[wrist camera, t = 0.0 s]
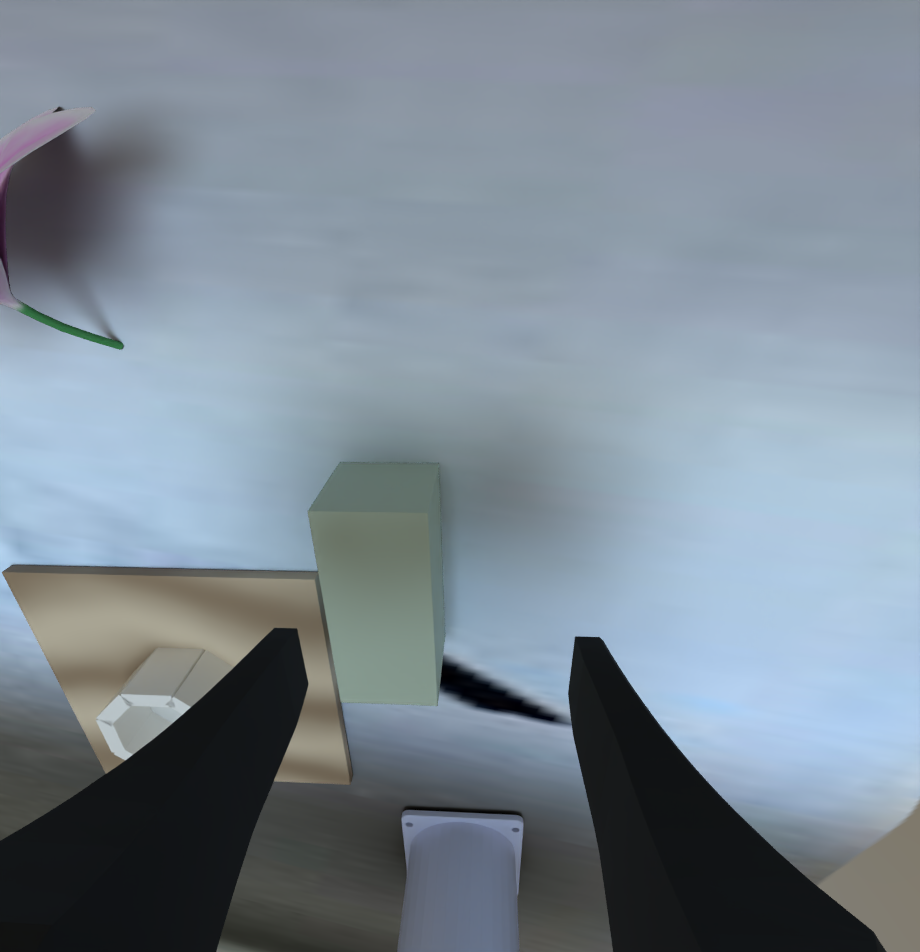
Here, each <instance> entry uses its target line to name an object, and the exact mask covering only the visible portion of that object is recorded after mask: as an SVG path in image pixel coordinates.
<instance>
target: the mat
mask: <svg viewBox="0 0 920 952" xmlns="http://www.w3.org/2000/svg"><path fill="white" fill-rule="evenodd" d="M2 573H3V575H4V577H5V579H6V581H7V583H8V585H9V587H10V589H11V591H12V593H13V595H14V597H15V599H16V601H17V602H18V604H19V606H20V608H21V610H22V612H23V614H24V616H25V618H26V620H27V622H28V624H29V626H30V628H31V630H32V631H33V633H34V635H35V637H36V639H37V641H38V643H39V645H40V647H41V649H42V651H43V653H44V655H45V657H46V659H47V661H48V662H49V664H50V666H51V668H52V670H53V672H54V674H55V676H56V678H57V680H58V682H59V684H60V686H61V688H62V690H63V691H64V693H65V695H66V697H67V699H68V701H69V703H70V705H71V707H72V709H73V711H74V713H75V715H76V717H77V719H78V720H79V722H80V724H81V726H82V728H83V730H84V732H85V734H86V736H87V738H88V740H89V742H90V744H91V746H92V748H93V749H94V751H95V753H96V755H97V757H98V759H99V761H100V763H101V765H102V767H103V769H104V771H105V773H106V774H107V773H108V772H109V771H111V770H112V769H114V768H115V767H117V766H118V765H120V764H121V763H122V762H124V761H125V760H124V759H122V758H120V757H118V756H116V755H114V753H113V752H111V750H110V748H109V746H108V744H107V742H106V740H105V738H104V736H103V734H102V732H101V730H100V728H99V726H98V724H97V722H96V718H97V716H98V715H99V714H100V713H101V711H102V710H103V709H104V708H105V707H106V705H107V704H108V703H109V702H110V700H111V699H112V698H113V697H114V695H115V694H116V693H117V692H118V691H119V689H120V688H121V687H122V686H123V684H124V683H125V682H126V681H127V680H128V678H129V677H130V676H131V675H132V673H133V672H134V671H135V670H136V669H137V668H138V667H139V666H140V665H141V664H142V663H143V662H144V661H145V659H146V658H147V657H148V656H149V655H150V654H151V653H152V652H153V651H154V650H155V649H156V648H157V649H158V647H159V648H191V649H204V651H205V650H207V651H209V652H210V653H212V654H214V655H215V656H217V657H218V658H220V659H221V660H223V661H224V662H226V663H228V664H229V665H231V666H232V667H235V666H236V665H237V664H238V663H239V662H240V661H241V660H242V659H243V658H244V657H245V656H246V655H247V654H248V653H249V652H250V651H251V650H252V649H253V648H254V647H255V646H256V645H257V644H258V643H259V642H260V641H261V640H262V639H263V638H264V637H265V636H266V635H267V634H268V633H269V632H270V631H272V630H273V629H274V628H297V630H298V635H299V640H300V645H301V649H302V654H303V659H304V664H305V669H306V674H307V679H308V684H309V685H308V689H307V692H306V696H305V700H304V703H303V707H302V710H301V713H300V717H299V720H298V723H297V726H296V729H295V731H294V734H293V736H292V738H291V741H290V743H289V746H288V748H287V751H286V753H285V755H284V758H283V760H282V763H281V765H280V767H279V770H278V772H277V774H276V777H275V779H274V781H280V782H302V783H323V784H345V785H351V781H352V777H353V773H352V767H351V762H350V756H349V750H348V744H347V738H346V732H345V726H344V720H343V714H342V708H341V702H340V696H339V690H338V684H337V679H336V673H335V667H334V661H333V655H332V649H331V643H330V637H329V631H328V626H327V620H326V614H325V608H324V603H323V597H322V591H321V586H320V580H319V574H318V572H292V571H249V570H206V569H163V568H120V567H77V566H34V565H12V566H10V567H9V568H7V569H6V570H4V571H3V572H2Z"/></svg>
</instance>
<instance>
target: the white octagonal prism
mask: <svg viewBox="0 0 920 952" xmlns="http://www.w3.org/2000/svg"><path fill="white" fill-rule="evenodd" d="M233 668H234V667H232V666H231V665H229V664H228V663H226V662H224V661H223V660H221V659H220V658H218V657H217V656H215V655H214V654H212V653H210V652H209V651H207V650H205V651H204V649H191V648H159V647H158V649H157V648H156V649H155V650H154V651H153V652H152V653H151V654H150V655H149V656H148V657H147V658H146V659H145V661H144V662H143V663H142V664H141V665H140V666H139V667H138V668H137V669H136V670H135V671H134V672H133V673H132V675H131V676H130V677H129V678H128V680H127V681H126V682H125V683H124V684H123V686H122V687H121V688H120V689H119V691H118V692H117V693H116V694H115V695H114V697H113V698H112V699H111V700H110V702H109V703H108V704H107V705H106V707H105V708H104V709H103V710H102V711H101V713H100V714H99V715H98V716H97V718H96V722H97V724H98V726H99V728H100V730H101V732H102V734H103V736H104V738H105V740H106V742H107V744H108V746H109V748H110V750H111V752H113V753H114V755H116V756H118V757H120V758H122V759H124V760H126V759H128V758H129V757H131V756H132V755H133V754H134V753H136V752H137V751H138V750H140V749H141V748H142V747H144V746H145V745H146V744H147V743H149V742H150V741H151V740H153V739H154V738H155V737H156V736H158V735H159V734H160V733H161V732H163V731H164V730H165V729H166V728H167V727H169V726H170V725H171V724H172V723H173V722H175V721H176V720H177V719H178V718H179V717H180V716H181V715H183V714H184V713H185V712H186V711H187V710H188V709H189V708H191V707H192V706H193V705H194V704H195V703H196V702H197V701H198V700H200V699H201V698H202V697H203V696H204V695H205V694H206V693H207V692H208V691H209V690H211V689H212V688H213V687H214V686H215V685H216V684H217V683H218V682H219V681H220V680H221V679H222V678H223V677H224V676H225V675H226V674H227V673H228V672H230V671H231V670H232V669H233Z"/></svg>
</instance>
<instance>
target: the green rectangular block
mask: <svg viewBox="0 0 920 952" xmlns="http://www.w3.org/2000/svg"><path fill="white" fill-rule="evenodd" d="M308 517H309V522H310V528H311V534H312V540H313V545H314V551H315V557H316V563H317V568H318V574H319V580H320V586H321V591H322V597H323V603H324V608H325V614H326V620H327V626H328V631H329V637H330V643H331V649H332V654H333V660H334V666H335V672H336V677H337V683H338V689H339V694H340V700H341V702H343V703H371V704H399V705H427V706H438V697H439V688H440V679H441V670H442V660H443V651H444V642H445V617H444V590H443V562H442V535H441V507H440V480H439V463H369V462H340V463H339V464H338V466H337V467H336V469H335V470H334V472H333V473H332V475H331V476H330V478H329V479H328V481H327V483H326V484H325V486H324V487H323V489H322V490H321V492H320V493H319V495H318V496H317V498H316V499H315V501H314V502H313V504H312V505H311V507H310V508H309V510H308Z"/></svg>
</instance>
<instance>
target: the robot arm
mask: <svg viewBox="0 0 920 952" xmlns="http://www.w3.org/2000/svg"><path fill="white" fill-rule="evenodd" d="M308 685H309V684H308V679H307V674H306V669H305V664H304V659H303V654H302V649H301V645H300V640H299V635H298V630H297V628H274V629H273V630H272V631H270V632H269V633H268V634H267V635H266V636H265V637H264V638H263V639H262V640H261V641H260V642H259V643H258V644H257V645H256V646H255V647H254V648H253V649H252V650H251V651H250V652H249V653H248V654H247V655H246V656H245V657H244V658H243V659H242V660H241V661H240V662H239V663H238V664H237V665H236V666H235V667H234V668H233V669H232V670H231V671H230V672H228V673H227V674H226V675H225V676H224V677H223V678H222V679H221V680H220V681H219V682H218V683H217V684H216V685H215V686H214V687H213V688H212V689H211V690H209V691H208V692H207V693H206V694H205V695H204V696H203V697H202V698H201V699H200V700H198V701H197V702H196V703H195V704H194V705H193V706H192V707H191V708H189V709H188V710H187V711H186V712H185V713H184V714H183V715H181V716H180V717H179V718H178V719H177V720H176V721H175V722H173V723H172V724H171V725H170V726H169V727H167V728H166V729H165V730H164V731H163V732H161V733H160V734H159V735H158V736H156V737H155V738H154V739H153V740H151V741H150V742H149V743H147V744H146V745H145V746H144V747H142V748H141V749H140V750H138V751H137V752H136V753H134V754H133V755H132V756H131V757H129V758H128V759H126V760H125V761H124V762H122V763H121V764H120V765H118V766H117V767H115V768H114V769H112V770H111V771H109V772H108V773H107V774H105V775H104V776H102V777H101V778H99V779H98V780H96V781H95V782H94V783H92V784H91V785H89V786H88V787H86V788H85V789H83V790H82V791H81V792H79V793H78V794H76V795H75V796H73V797H72V798H70V799H68V800H67V801H65V802H64V803H62V804H61V805H59V806H57V807H56V808H54V809H53V810H51V811H50V812H48V813H46V814H45V815H43V816H41V817H40V818H38V819H36V820H35V821H33V822H32V823H30V824H28V825H27V826H25V827H23V828H22V829H20V830H18V831H17V832H15V833H13V834H11V835H10V836H8V837H6V838H5V839H3V840H1V841H0V952H216V950H217V947H218V943H219V940H220V936H221V932H222V929H223V926H224V922H225V919H226V916H227V912H228V909H229V906H230V903H231V899H232V896H233V893H234V889H235V886H236V883H237V879H238V876H239V873H240V870H241V867H242V864H243V861H244V858H245V855H246V851H247V848H248V845H249V842H250V839H251V836H252V833H253V831H254V828H255V825H256V823H257V820H258V817H259V815H260V812H261V810H262V808H263V805H264V803H265V801H266V798H267V796H268V793H269V791H270V789H271V786H272V784H273V782H274V779H275V777H276V774H277V772H278V770H279V767H280V765H281V763H282V760H283V758H284V755H285V753H286V751H287V748H288V746H289V743H290V741H291V738H292V736H293V734H294V731H295V729H296V726H297V723H298V720H299V717H300V713H301V710H302V707H303V703H304V700H305V696H306V692H307V689H308ZM568 696H569V704H570V713H571V721H572V729H573V736H574V741H575V745H576V750H577V754H578V758H579V763H580V767H581V772H582V776H583V780H584V785H585V789H586V793H587V798H588V802H589V806H590V811H591V815H592V819H593V824H594V828H595V833H596V838H597V843H598V848H599V853H600V860H601V867H602V874H603V881H604V888H605V895H606V901H607V909H608V916H609V924H610V931H611V938H612V946H613V952H886V951H885V949H884V948H883V946H882V945H881V943H880V942H879V940H878V938H877V937H876V935H875V933H874V932H873V931H872V930H871V929H869V928H868V927H867V926H866V925H864V924H863V923H862V922H861V921H859V920H858V919H857V918H856V917H854V916H853V915H852V914H851V913H850V912H848V911H846V909H844V908H843V907H842V906H841V905H839V904H838V903H837V902H836V901H835V900H833V899H832V898H831V897H829V896H828V895H827V894H826V893H825V892H824V891H822V890H821V889H820V888H818V887H817V886H816V885H815V884H814V883H812V882H811V881H810V880H809V879H808V878H807V877H805V876H804V875H803V874H802V873H801V872H800V871H799V870H798V869H796V868H795V867H794V866H793V865H792V864H791V863H790V862H789V861H787V860H786V859H785V858H784V857H783V856H782V855H781V854H780V853H778V852H777V851H776V850H775V849H774V848H773V847H772V846H771V845H770V844H769V843H768V842H767V841H766V840H765V839H764V838H763V837H762V836H761V835H760V834H759V833H758V832H756V831H755V830H754V829H753V828H752V827H751V826H750V825H749V824H748V823H747V822H746V821H745V820H744V819H743V818H742V817H741V816H740V815H739V814H738V813H737V812H736V811H735V810H734V809H733V808H732V807H731V806H730V805H729V804H728V803H727V802H726V801H725V800H724V799H723V798H722V797H721V796H720V795H719V794H718V793H717V792H716V791H715V790H714V788H713V787H712V786H711V785H710V784H709V783H708V782H707V781H706V780H705V779H704V778H703V776H702V775H701V774H700V773H699V772H698V771H697V770H696V769H695V767H694V766H693V765H692V764H691V763H690V762H689V761H688V759H687V758H686V757H685V756H684V755H683V753H682V752H681V751H680V750H679V749H678V747H677V746H676V745H675V744H674V742H673V741H672V740H671V739H670V737H669V736H668V735H667V734H666V732H665V731H664V730H663V729H662V727H661V726H660V725H659V723H658V722H657V721H656V719H655V718H654V717H653V715H652V714H651V713H650V711H649V710H648V709H647V707H646V706H645V704H644V703H643V702H642V700H641V699H640V697H639V696H638V695H637V693H636V692H635V690H634V689H633V687H632V686H631V684H630V683H629V681H628V680H627V678H626V677H625V675H624V674H623V672H622V671H621V669H620V668H619V666H618V665H617V663H616V661H615V660H614V658H613V656H612V655H611V653H610V652H609V650H608V648H607V646H606V645H605V643H604V641H603V640H602V639H601V638H600V637H575V642H574V651H573V659H572V667H571V675H570V683H569V691H568ZM401 820H402V829H403V839H404V848H405V858H406V867H407V878H406V886H405V894H404V902H403V910H402V918H401V925H400V933H399V941H398V949H397V952H520V949H519V926H518V904H517V895H518V889H519V876H520V864H521V851H522V838H523V826H524V825H523V818H522V817H521V816H519V815H507V814H486V813H465V812H444V811H424V810H405V811H404V812H403V813H402V819H401Z"/></svg>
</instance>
